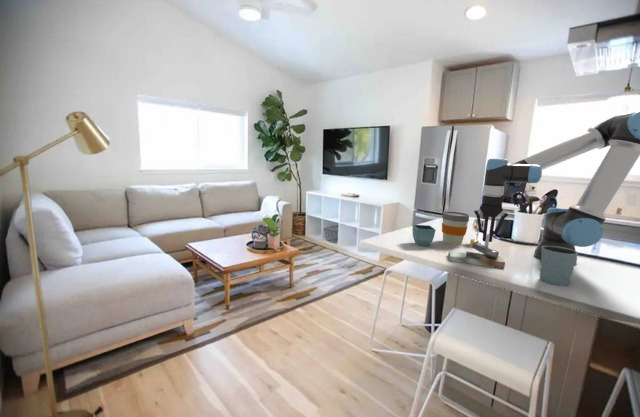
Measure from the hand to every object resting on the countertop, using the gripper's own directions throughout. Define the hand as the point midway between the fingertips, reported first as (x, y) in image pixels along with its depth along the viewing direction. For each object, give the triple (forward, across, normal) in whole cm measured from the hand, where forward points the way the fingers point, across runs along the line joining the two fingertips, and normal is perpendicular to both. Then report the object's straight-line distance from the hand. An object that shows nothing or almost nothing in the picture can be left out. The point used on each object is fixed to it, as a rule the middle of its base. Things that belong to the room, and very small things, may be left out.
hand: (486, 248), depth 132 cm
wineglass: (+5, +3, -24) cm, 25 cm away
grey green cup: (+4, -21, +17) cm, 27 cm away
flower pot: (+4, +27, -4) cm, 28 cm away
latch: (+1, +1, +3) cm, 3 cm away
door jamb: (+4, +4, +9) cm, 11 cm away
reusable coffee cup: (+4, +14, -18) cm, 23 cm away
